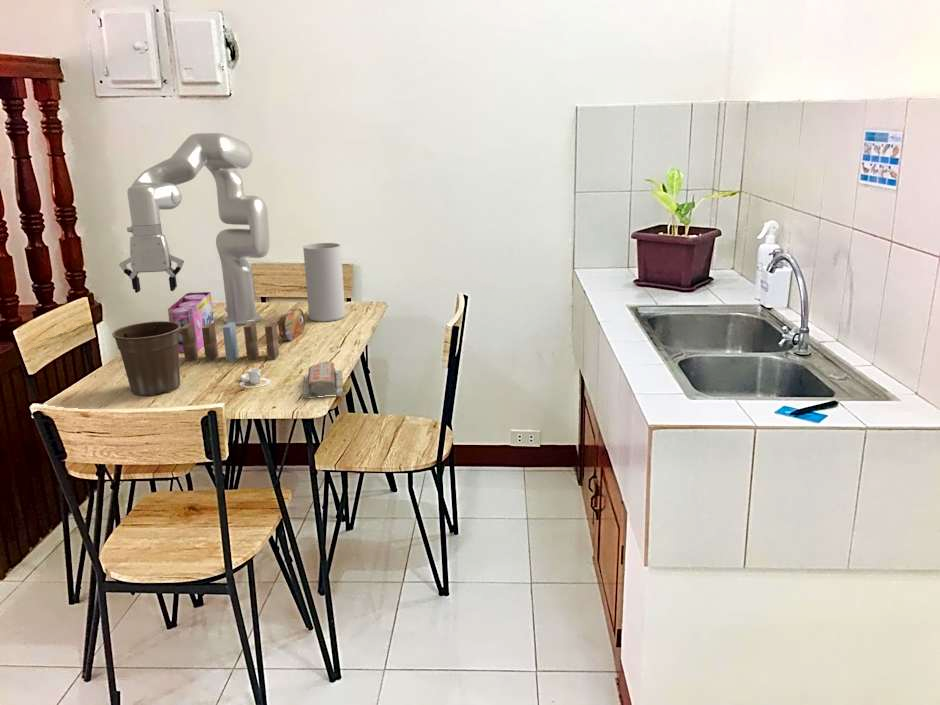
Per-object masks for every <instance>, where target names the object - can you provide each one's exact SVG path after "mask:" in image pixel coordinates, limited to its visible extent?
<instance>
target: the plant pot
mask: <svg viewBox="0 0 940 705" xmlns="http://www.w3.org/2000/svg"><path fill="white" fill-rule="evenodd" d="M179 329H180V325H179V324H178V323H175V322H169V320H168V321H167V320H166V321H164V320H163V321H162V320H160V321H159V320H158V321H157V320H156V321H147V322H140V323H139V322H138V323H134V324H130V325H126V326H125V325H124V326H122V327H120V328H117V329H116V330H114V331H113V332H112V333H111V334H112V337H113V338H114V339H115V342H116V346H117V349H118V350H119V352H120V356H121V359H122V362H123V363H122V364H123V366H124V370H125V373H126V377H127V380H128V385H129V388H130V392H131V393H132V394H133V395H137V396H143V397H144V396H146V397H148V396H156V395H161V393H163V392H164V393H169V392H172V391H175V390H176V389H178V388H179V387H180V386H181V373H180V355H179V353H180V352H179V351H178V342H179Z"/></svg>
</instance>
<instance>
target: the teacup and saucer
mask: <svg viewBox="0 0 940 705" xmlns="http://www.w3.org/2000/svg"><path fill="white" fill-rule="evenodd" d="M239 379H240V380H241V381H240V383H238V384H239V386H240V387H241V388H244V389H245V388H246V389H254V388H261V387H264V386H267V385H269V384H271V380H270V379H269V378H266V377H261V369H260V368H259V367H254V368H249V369H247V373H244V374H241V375H240V377H239ZM261 381H265V383H263V384H260V383H261ZM245 383H250V384H251V385H257V386H255V387H254V386H249V385H245ZM258 384H260V385H261V386H260V385H258Z"/></svg>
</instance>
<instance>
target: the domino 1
mask: <svg viewBox="0 0 940 705" xmlns="http://www.w3.org/2000/svg"><path fill="white" fill-rule="evenodd" d="M181 334H182V342H183V349H184V352H183V356H184V362H185V363H186V362H187V363H189V362H193V361H194V360H196V359H197V358H198V357H199V351H198V350H197V343H196V335H195V327H194V323H187V324H186V325H185V326H183V327H182V328H181Z"/></svg>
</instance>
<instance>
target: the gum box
mask: <svg viewBox="0 0 940 705" xmlns="http://www.w3.org/2000/svg"><path fill="white" fill-rule="evenodd" d="M211 293H212V292H211V291H210V292H208V291H207V292H205V291H204V292H200V291H199V292H186V293H185V294H183V296H182V297H181V298H180V299H178V300H177V301H176V302H174V303H173V304H172V305H170V306H169V307H168V308H167V312H168V313H167V314H168V322H175V323H178V324H179V325H180V329H179V342H178V351H179V353H184V349H183V342H182V334H181V328H182V327H183V326H185V325H186V324H187V323H194V327H195V335H196V343H197V350H198V352H199V351H200V350H201V348H203V347H204V342H203V334H202V327H204V326H205V325H206V324H207V323H215V318H214V310H213V302H212V301H213V300H212V294H211Z"/></svg>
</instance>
